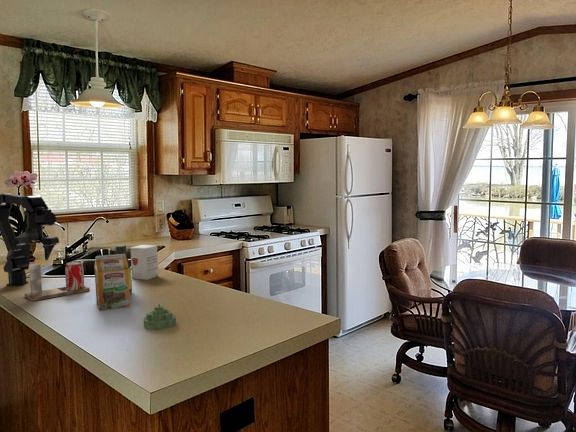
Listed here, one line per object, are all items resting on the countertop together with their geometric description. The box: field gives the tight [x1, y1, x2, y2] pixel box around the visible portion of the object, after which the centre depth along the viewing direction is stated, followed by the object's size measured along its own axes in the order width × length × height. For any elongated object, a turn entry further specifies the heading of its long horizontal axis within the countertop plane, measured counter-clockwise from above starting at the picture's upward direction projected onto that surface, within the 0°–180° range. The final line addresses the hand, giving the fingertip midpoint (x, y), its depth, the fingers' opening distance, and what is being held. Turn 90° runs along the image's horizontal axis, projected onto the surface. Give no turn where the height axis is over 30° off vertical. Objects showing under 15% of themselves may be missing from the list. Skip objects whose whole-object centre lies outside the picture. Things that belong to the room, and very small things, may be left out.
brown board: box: [23, 263, 91, 302], centre depth 196 cm, size 22×10×13 cm, turn 135°
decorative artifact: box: [143, 303, 177, 331], centre depth 153 cm, size 10×7×10 cm
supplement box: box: [130, 244, 159, 281], centre depth 225 cm, size 9×9×15 cm
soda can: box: [64, 261, 85, 291], centre depth 200 cm, size 7×7×12 cm
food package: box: [94, 253, 131, 312], centre depth 177 cm, size 11×10×19 cm
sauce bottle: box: [115, 244, 133, 294], centre depth 195 cm, size 7×6×20 cm
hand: (37, 260), depth 208 cm, fingers open, 9 cm apart
